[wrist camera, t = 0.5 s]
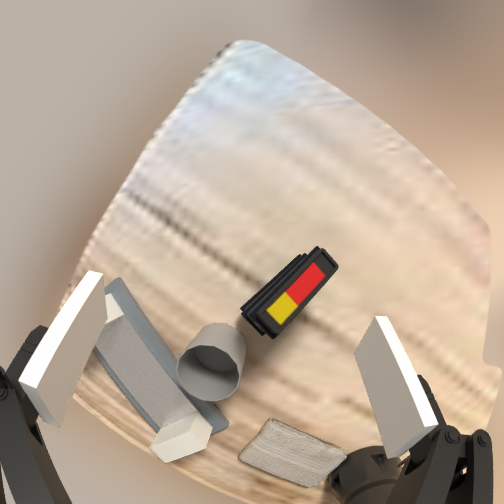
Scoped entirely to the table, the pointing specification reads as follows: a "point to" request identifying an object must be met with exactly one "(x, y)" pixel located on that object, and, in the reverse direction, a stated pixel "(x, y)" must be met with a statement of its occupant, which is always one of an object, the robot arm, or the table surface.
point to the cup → (213, 362)
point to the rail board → (160, 351)
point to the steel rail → (144, 373)
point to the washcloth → (292, 453)
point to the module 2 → (182, 438)
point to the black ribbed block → (289, 292)
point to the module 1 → (112, 310)
